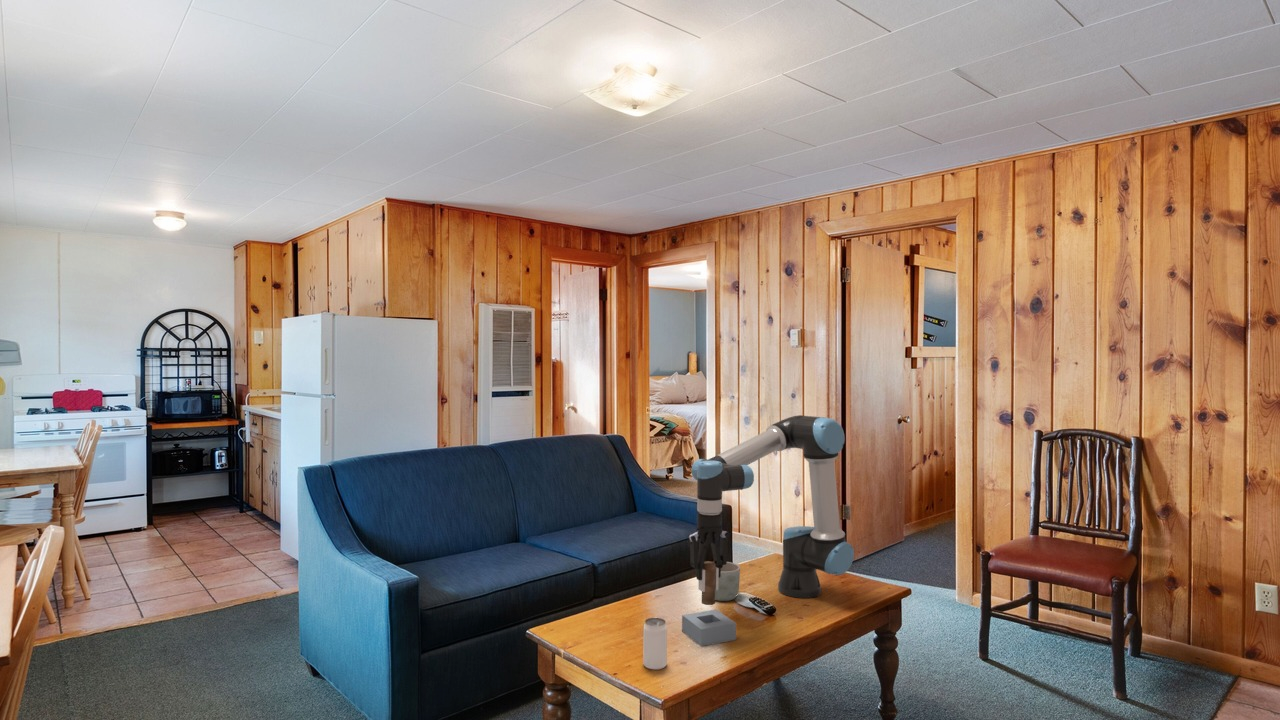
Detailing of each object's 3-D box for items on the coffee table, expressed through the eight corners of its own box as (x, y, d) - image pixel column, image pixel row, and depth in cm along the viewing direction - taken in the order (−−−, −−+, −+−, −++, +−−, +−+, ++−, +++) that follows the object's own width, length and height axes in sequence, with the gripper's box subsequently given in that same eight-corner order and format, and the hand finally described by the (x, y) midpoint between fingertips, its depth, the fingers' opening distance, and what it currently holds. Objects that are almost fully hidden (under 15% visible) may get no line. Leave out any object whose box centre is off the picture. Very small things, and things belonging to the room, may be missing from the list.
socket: (715, 625, 216) (716, 609, 216) (736, 639, 205) (736, 623, 205) (682, 631, 211) (682, 615, 211) (700, 646, 200) (700, 629, 200)
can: (652, 672, 183) (652, 627, 183) (638, 663, 189) (638, 620, 189) (671, 666, 187) (671, 622, 187) (657, 657, 192) (657, 615, 192)
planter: (739, 604, 234) (739, 572, 234) (703, 602, 237) (703, 570, 237) (740, 592, 247) (740, 562, 247) (706, 590, 249) (706, 560, 249)
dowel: (710, 599, 211) (711, 560, 211) (717, 604, 207) (717, 564, 207) (699, 601, 209) (699, 562, 209) (705, 605, 205) (706, 565, 205)
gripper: (727, 507, 215) (726, 582, 215) (678, 511, 208) (677, 589, 208) (739, 512, 208) (738, 589, 208) (690, 517, 201) (689, 596, 201)
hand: (708, 589), depth 208 cm, fingers closed on dowel, 4 cm apart
